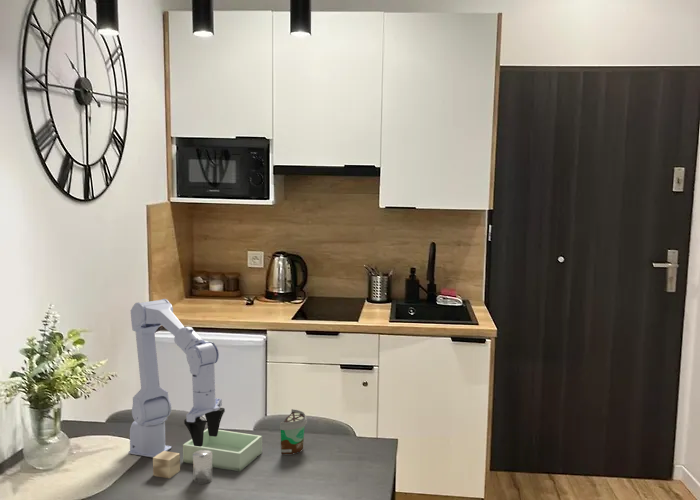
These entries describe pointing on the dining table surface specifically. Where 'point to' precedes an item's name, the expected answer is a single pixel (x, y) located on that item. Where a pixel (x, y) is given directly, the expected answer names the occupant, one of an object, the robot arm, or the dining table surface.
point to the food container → (293, 432)
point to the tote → (227, 449)
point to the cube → (166, 464)
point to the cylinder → (202, 466)
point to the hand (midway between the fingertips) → (205, 440)
